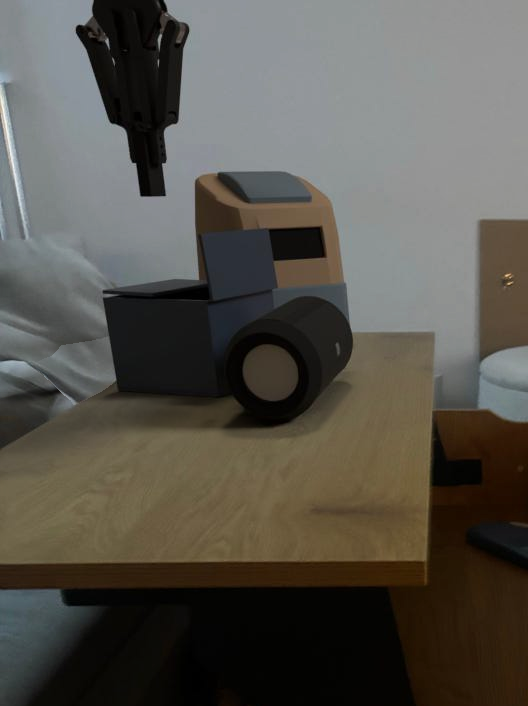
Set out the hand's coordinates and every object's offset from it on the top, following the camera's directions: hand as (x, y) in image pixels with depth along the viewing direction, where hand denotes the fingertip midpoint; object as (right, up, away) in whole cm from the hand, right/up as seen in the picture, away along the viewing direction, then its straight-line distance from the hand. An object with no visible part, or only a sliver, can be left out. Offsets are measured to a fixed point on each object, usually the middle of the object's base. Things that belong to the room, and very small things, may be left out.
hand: (153, 196), depth 111 cm
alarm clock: (+9, -11, +26) cm, 29 cm away
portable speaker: (+17, -24, -2) cm, 29 cm away
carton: (+3, -19, +8) cm, 21 cm away
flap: (0, -9, +5) cm, 10 cm away
